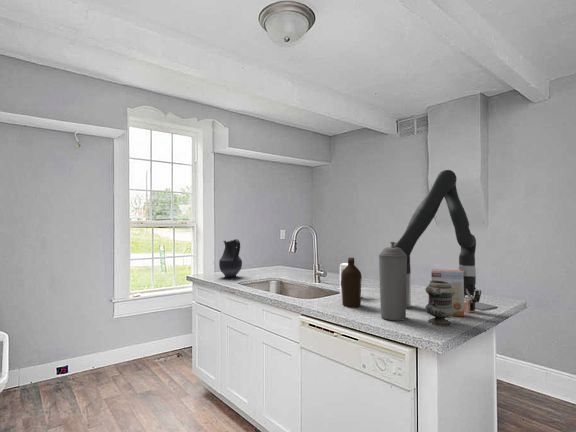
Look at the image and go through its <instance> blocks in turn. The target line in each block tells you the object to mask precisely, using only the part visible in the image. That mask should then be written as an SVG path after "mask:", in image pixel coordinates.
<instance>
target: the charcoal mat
mask: <svg viewBox="0 0 576 432" xmlns="http://www.w3.org/2000/svg"><path fill="white" fill-rule="evenodd" d="M494 309H498V306H496V305H492V304H490V303H489V304H488V303H483V302H480V301H479V302H476V303H475V310H478V311H480V312H481V311H482V312H483V311H486V310H494Z"/></svg>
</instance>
